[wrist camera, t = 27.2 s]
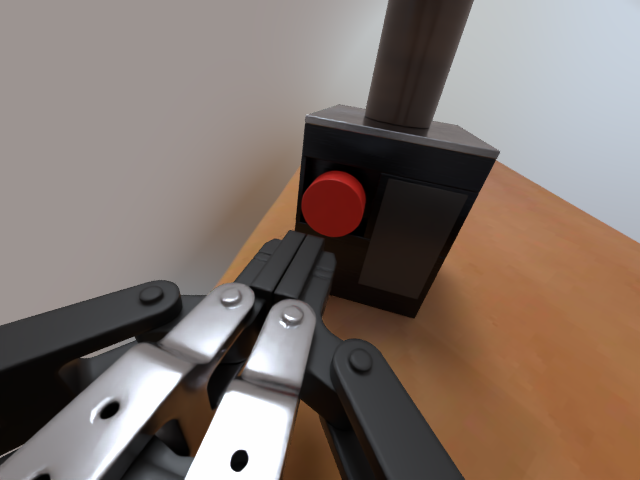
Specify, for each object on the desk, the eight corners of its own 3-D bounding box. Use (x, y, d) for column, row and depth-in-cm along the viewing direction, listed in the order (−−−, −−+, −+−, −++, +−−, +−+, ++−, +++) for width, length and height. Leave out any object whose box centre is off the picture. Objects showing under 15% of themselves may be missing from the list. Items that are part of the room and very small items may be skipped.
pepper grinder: (441, 128, 17) (505, -42, 13) (404, 128, 14) (467, -85, 10) (390, 115, 20) (428, -29, 15) (351, 113, 17) (382, -61, 13)
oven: (414, 319, 19) (501, 151, 12) (289, 284, 20) (304, 115, 14) (408, 248, 27) (457, 125, 21) (319, 226, 29) (339, 104, 22)
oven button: (355, 243, 15) (370, 187, 13) (298, 229, 16) (304, 172, 14) (358, 230, 17) (372, 177, 15) (306, 217, 17) (312, 164, 15)
